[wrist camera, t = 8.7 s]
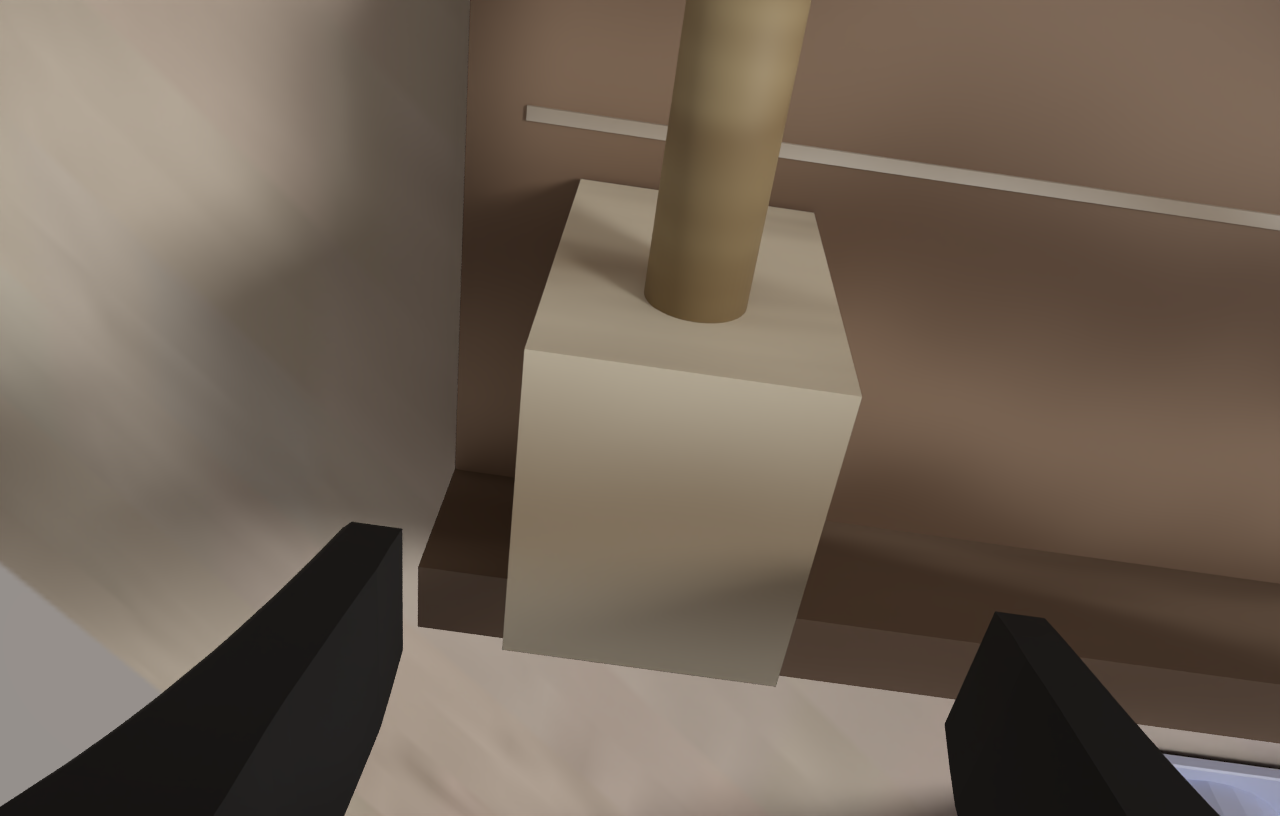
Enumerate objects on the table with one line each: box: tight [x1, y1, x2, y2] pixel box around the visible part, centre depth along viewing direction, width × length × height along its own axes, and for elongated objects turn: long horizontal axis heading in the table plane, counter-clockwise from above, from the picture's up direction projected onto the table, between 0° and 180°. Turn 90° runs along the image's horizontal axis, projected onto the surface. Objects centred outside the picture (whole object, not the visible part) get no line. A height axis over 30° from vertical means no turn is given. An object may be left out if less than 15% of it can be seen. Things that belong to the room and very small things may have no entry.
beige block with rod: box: [502, 0, 862, 687], centre depth 14 cm, size 10×4×6 cm, turn 173°
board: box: [418, 0, 1280, 743], centre depth 17 cm, size 14×24×5 cm, turn 83°
